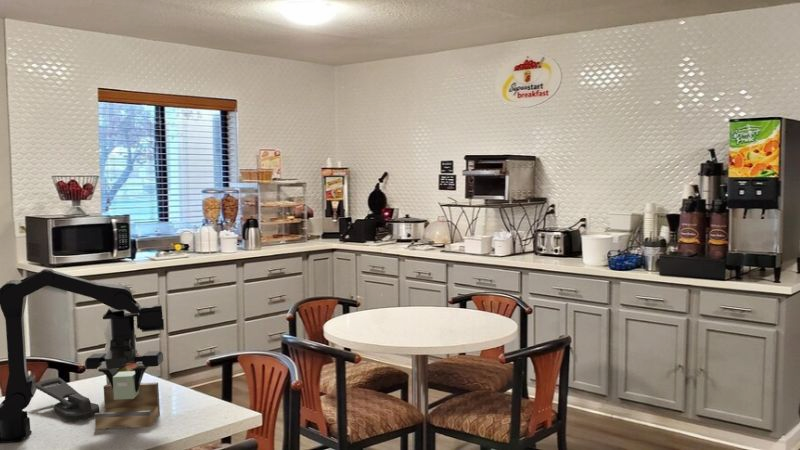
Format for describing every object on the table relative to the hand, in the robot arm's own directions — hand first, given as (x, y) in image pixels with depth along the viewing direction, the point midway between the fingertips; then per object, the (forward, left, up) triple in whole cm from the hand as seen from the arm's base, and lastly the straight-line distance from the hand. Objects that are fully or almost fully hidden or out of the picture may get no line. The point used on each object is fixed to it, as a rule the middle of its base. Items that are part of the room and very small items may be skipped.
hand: (126, 391), depth 188 cm
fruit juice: (-9, +25, -8) cm, 28 cm away
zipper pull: (-21, +13, -8) cm, 26 cm away
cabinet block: (0, 0, -1) cm, 1 cm away
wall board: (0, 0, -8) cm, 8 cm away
